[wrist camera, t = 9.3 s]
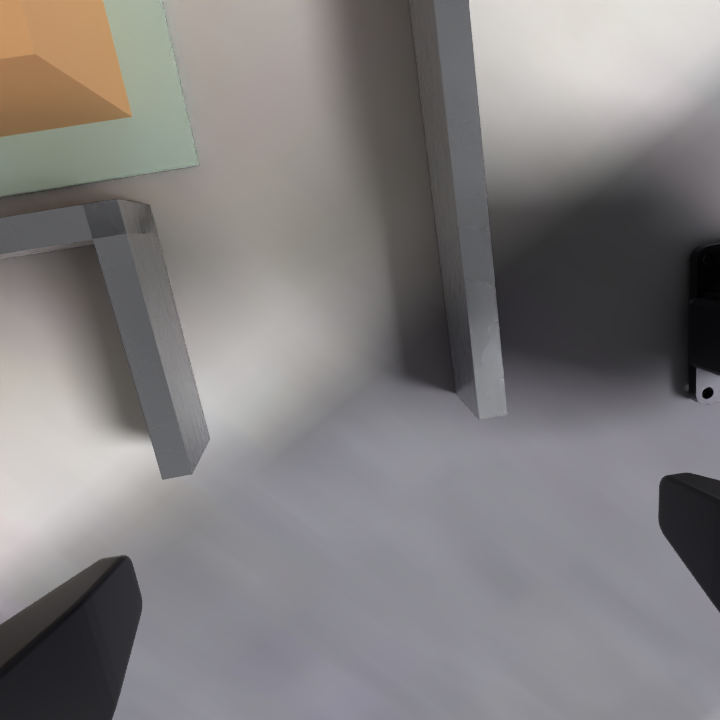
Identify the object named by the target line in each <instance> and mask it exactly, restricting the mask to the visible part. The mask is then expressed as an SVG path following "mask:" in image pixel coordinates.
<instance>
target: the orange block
mask: <svg viewBox="0 0 720 720" xmlns="http://www.w3.org/2000/svg"><path fill="white" fill-rule="evenodd" d="M128 117H132V113H131V109H130V105H129V101H128V97H127V94H126V90H125V86H124V82H123V78H122V74H121V70H120V66H119V62H118V58H117V54H116V50H115V46H114V42H113V38H112V34H111V30H110V26H109V22H108V18H107V14H106V11H105V7H104V3H103V0H0V137H4V136H10V135H17V134H23V133H30V132H36V131H43V130H50V129H56V128H63V127H69V126H76V125H82V124H89V123H95V122H102V121H108V120H115V119H122V118H128Z"/></svg>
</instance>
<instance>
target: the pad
mask: <svg viewBox="0 0 720 720" xmlns="http://www.w3.org/2000/svg"><path fill="white" fill-rule="evenodd" d="M103 3H104V7H105V11H106V14H107V18H108V22H109V26H110V30H111V34H112V38H113V42H114V46H115V50H116V54H117V58H118V62H119V66H120V70H121V74H122V78H123V82H124V86H125V90H126V94H127V97H128V101H129V105H130V109H131V113H132V117H128V118H122V119H115V120H108V121H102V122H95V123H89V124H82V125H76V126H69V127H63V128H56V129H50V130H43V131H36V132H30V133H23V134H17V135H10V136H4V137H0V198H1V197H8V196H14V195H20V194H26V193H32V192H39V191H45V190H51V189H57V188H64V187H70V186H76V185H82V184H89V183H95V182H101V181H107V180H113V179H120V178H126V177H132V176H138V175H145V174H151V173H157V172H163V171H170V170H176V169H182V168H188V167H194V166H199V162H198V157H197V153H196V149H195V144H194V140H193V135H192V131H191V127H190V122H189V118H188V114H187V109H186V105H185V100H184V96H183V92H182V87H181V83H180V79H179V74H178V70H177V66H176V61H175V57H174V52H173V48H172V44H171V39H170V35H169V31H168V26H167V22H166V18H165V13H164V9H163V4H162V0H103Z"/></svg>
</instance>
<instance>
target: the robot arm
mask: <svg viewBox="0 0 720 720" xmlns="http://www.w3.org/2000/svg"><path fill="white" fill-rule="evenodd" d="M706 253H707V254H708V260H707V262H706V263H705V264H704V261H703V259H704V256H705V255H706ZM705 388H706V392H705V394H704V395H702V392H703V390H704V389H705ZM689 394H690V397H691V399H692V400H694V401H696V402H699V403H701V404H703V405H708V404H713V403H718V402H720V242H719V243H713V244H707V245H702V246H699V247H697V248H696V249H695V250H694V251H693V252H692V254H691V256H690V304H689ZM658 518H659V525H660V528H661V530H662V532H663V534H664V536H665V537H666V539H667V540H668V541H669V543H670V544H671V546H672V547H673V548H674V550H675V551H676V553H677V554H678V555H679V557H680V558H681V560H682V561H683V562H684V564H685V565H686V567H687V568H688V569H689V571H690V572H691V574H692V575H693V576H694V578H695V579H696V581H697V582H698V583H699V585H700V586H701V588H702V589H703V590H704V592H705V593H706V595H707V596H708V597H709V599H710V600H711V602H712V603H713V604H714V606H715V607H716V608H717V609H718V611H719V612H720V481H719V480H715V479H712V478H708V477H704V476H700V475H696V474H692V473H679V474H673V475H667V476H664V477H663V478H662V479H661V481H660V485H659V515H658ZM141 612H142V597H141V593H140V589H139V585H138V582H137V578H136V574H135V571H134V567H133V564H132V561H131V559H130V558H129V557H128V556H126V555H120V556H113V557H107V558H102V559H100V560H98V561H97V562H95V563H94V564H92V565H91V566H89V567H88V568H86V569H84V570H83V571H81V572H80V573H78V574H77V575H75V576H74V577H72V578H71V579H69V580H68V581H66V582H65V583H63V584H62V585H60V586H59V587H57V588H55V589H54V590H52V591H51V592H49V593H48V594H46V595H45V596H43V597H42V598H40V599H39V600H37V601H36V602H34V603H33V604H31V605H30V606H28V607H26V608H25V609H23V610H22V611H20V612H19V613H17V614H16V615H14V616H13V617H11V618H10V619H8V620H7V621H5V622H4V623H2V624H0V720H112V718H113V715H114V712H115V709H116V706H117V702H118V699H119V696H120V692H121V688H122V685H123V681H124V677H125V673H126V669H127V666H128V662H129V658H130V654H131V650H132V646H133V643H134V639H135V635H136V631H137V627H138V624H139V620H140V616H141Z"/></svg>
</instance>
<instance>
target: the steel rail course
mask: <svg viewBox="0 0 720 720" xmlns="http://www.w3.org/2000/svg"><path fill="white" fill-rule="evenodd" d="M409 7H410V15H411V23H412V32H413V40H414V48H415V57H416V65H417V73H418V81H419V90H420V98H421V106H422V115H423V123H424V131H425V140H426V148H427V156H428V165H429V173H430V181H431V190H432V198H433V206H434V215H435V223H436V231H437V240H438V248H439V256H440V265H441V273H442V281H443V290H444V298H445V306H446V315H447V323H448V331H449V339H450V348H451V356H452V364H453V373H454V381H455V389H456V394H457V395H458V397H459V398H460V399H461V400H462V401H463V402H464V403H465V404H466V406H467V407H468V408H469V409H470V410H471V411H472V412H473V413H474V415H475V416H476V417H477V418H478V419H479V420H483V419H488V418H494V417H499V416H504V415H507V405H506V394H505V384H504V373H503V362H502V352H501V341H500V330H499V320H498V309H497V298H496V288H495V277H494V267H493V256H492V245H491V235H490V224H489V213H488V203H487V192H486V181H485V171H484V160H483V149H482V139H481V128H480V117H479V107H478V96H477V85H476V75H475V64H474V53H473V43H472V32H471V21H470V11H469V0H409ZM92 244H94V245H95V249H96V252H97V255H98V259H99V262H100V266H101V269H102V273H103V276H104V280H105V283H106V287H107V290H108V293H109V297H110V300H111V304H112V307H113V311H114V314H115V318H116V321H117V324H118V328H119V331H120V335H121V338H122V342H123V345H124V349H125V352H126V355H127V359H128V362H129V366H130V369H131V373H132V376H133V380H134V383H135V387H136V390H137V393H138V397H139V400H140V404H141V407H142V411H143V414H144V418H145V421H146V424H147V428H148V431H149V435H150V438H151V442H152V445H153V449H154V452H155V455H156V459H157V462H158V466H159V469H160V473H161V476H162V480H163V479H169V478H174V477H179V476H185V475H190V474H192V473H193V471H194V469H195V467H196V465H197V464H198V462H199V460H200V458H201V456H202V454H203V452H204V450H205V448H206V446H207V444H208V442H209V440H210V438H209V434H208V430H207V426H206V422H205V418H204V414H203V411H202V407H201V403H200V399H199V395H198V391H197V387H196V383H195V380H194V376H193V372H192V368H191V364H190V360H189V356H188V352H187V348H186V345H185V341H184V337H183V333H182V329H181V325H180V321H179V317H178V314H177V310H176V306H175V302H174V298H173V294H172V290H171V286H170V282H169V279H168V275H167V271H166V267H165V263H164V259H163V255H162V251H161V248H160V244H159V240H158V236H157V232H156V228H155V224H154V220H153V217H152V213H151V209H150V205H148V204H142V203H137V202H131V201H126V200H121V199H113V200H107V201H101V202H95V203H88V204H82V205H76V206H70V207H64V208H58V209H52V210H45V211H39V212H33V213H27V214H21V215H15V216H8V217H2V218H0V260H2V259H8V258H14V257H20V256H26V255H32V254H38V253H44V252H50V251H56V250H62V249H68V248H74V247H80V246H86V245H92Z"/></svg>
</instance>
